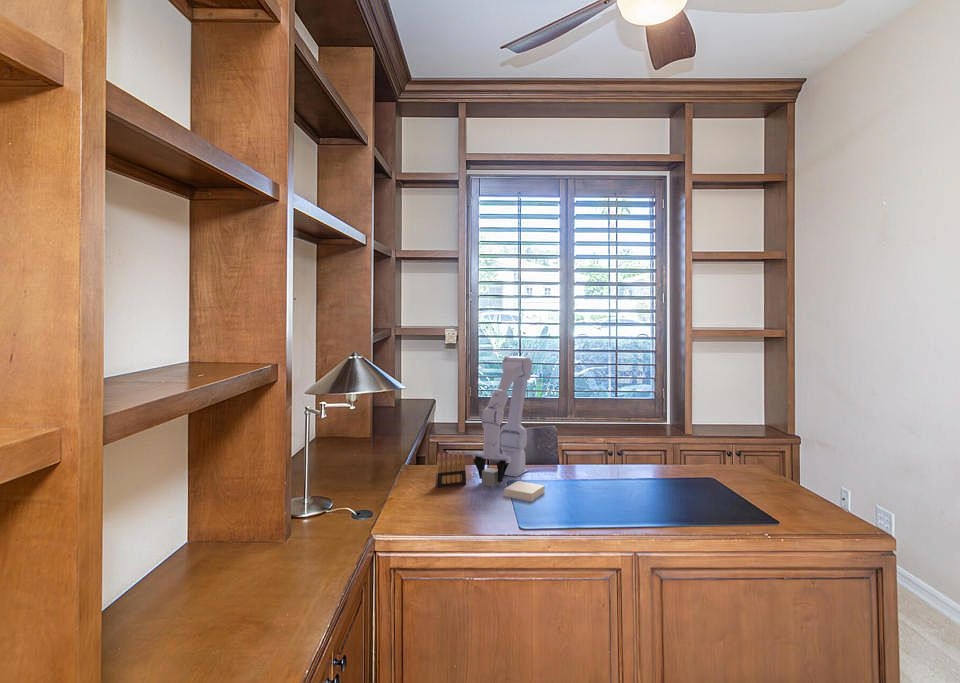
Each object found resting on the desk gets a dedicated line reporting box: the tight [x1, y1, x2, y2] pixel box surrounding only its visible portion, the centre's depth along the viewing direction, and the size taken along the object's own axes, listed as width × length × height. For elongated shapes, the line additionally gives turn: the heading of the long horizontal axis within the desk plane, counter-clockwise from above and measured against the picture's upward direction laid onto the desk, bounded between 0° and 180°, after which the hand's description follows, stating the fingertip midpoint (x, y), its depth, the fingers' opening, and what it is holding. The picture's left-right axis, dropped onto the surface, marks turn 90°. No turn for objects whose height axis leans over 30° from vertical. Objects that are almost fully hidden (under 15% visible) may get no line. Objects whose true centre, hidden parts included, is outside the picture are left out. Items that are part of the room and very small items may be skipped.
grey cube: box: [481, 467, 501, 488], centre depth 197 cm, size 5×5×5 cm
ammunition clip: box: [434, 450, 467, 489], centre depth 195 cm, size 11×2×12 cm, turn 112°
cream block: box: [503, 480, 546, 502], centre depth 186 cm, size 10×10×3 cm
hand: (491, 480), depth 197 cm, fingers open, 7 cm apart
